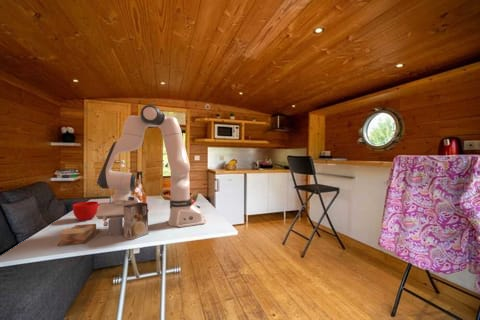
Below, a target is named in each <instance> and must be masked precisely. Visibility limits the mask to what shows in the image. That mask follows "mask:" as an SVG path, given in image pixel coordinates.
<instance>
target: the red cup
mask: <svg viewBox="0 0 480 320" xmlns="http://www.w3.org/2000/svg"><path fill="white" fill-rule="evenodd" d="M102 203H103V202H100V203H99V202H98V201H96V200H95V201H81V202H77V203H74V204H73V205H72V211H73V215H74V217H75V218H76V219H77V220H79V222H87V221H91V220H93V219H94V218H95V217H96V213H97V210H98V207H99V205H100V204H102Z"/></svg>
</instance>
